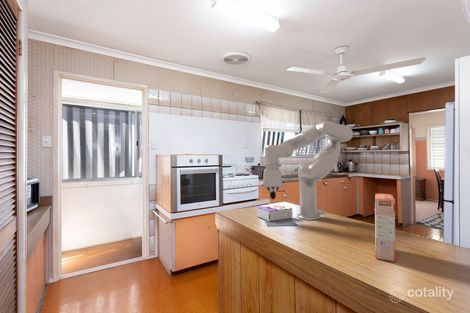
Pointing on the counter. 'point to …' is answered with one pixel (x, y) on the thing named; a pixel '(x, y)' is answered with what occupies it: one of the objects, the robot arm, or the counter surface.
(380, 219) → the cracker box
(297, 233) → the counter surface
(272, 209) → the candy box
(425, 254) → the counter surface
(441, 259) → the counter surface
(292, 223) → the mat
